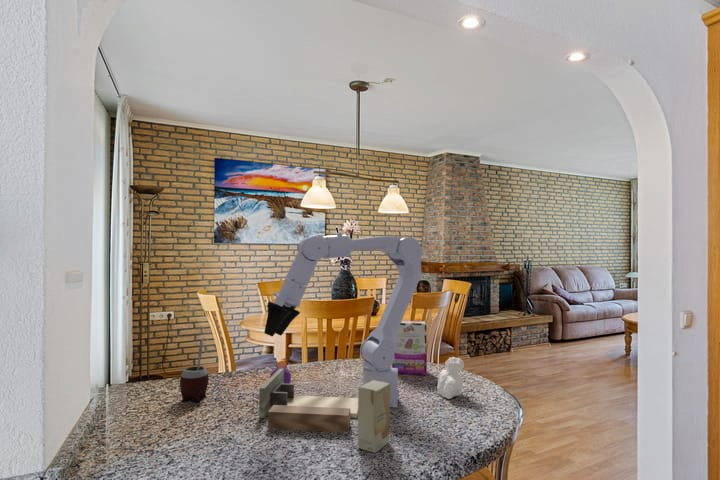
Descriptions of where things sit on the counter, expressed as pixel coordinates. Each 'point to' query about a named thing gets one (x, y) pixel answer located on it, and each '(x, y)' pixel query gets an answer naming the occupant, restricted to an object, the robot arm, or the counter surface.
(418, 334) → the candy bar box
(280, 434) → the counter surface
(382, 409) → the skincare box
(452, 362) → the bust
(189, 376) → the mate gourd
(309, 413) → the rail
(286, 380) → the kendama
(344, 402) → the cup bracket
